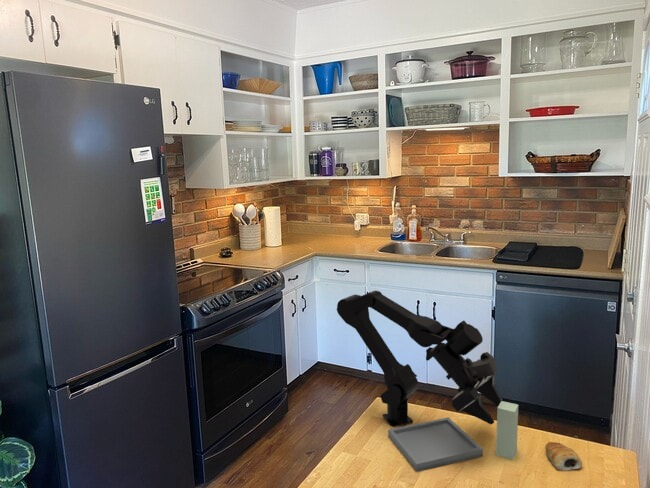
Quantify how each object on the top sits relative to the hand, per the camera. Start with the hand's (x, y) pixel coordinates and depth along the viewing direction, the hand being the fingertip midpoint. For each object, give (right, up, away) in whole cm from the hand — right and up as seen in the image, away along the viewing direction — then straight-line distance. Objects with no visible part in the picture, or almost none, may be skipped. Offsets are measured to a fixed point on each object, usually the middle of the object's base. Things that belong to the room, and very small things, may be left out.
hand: (497, 414), depth 123 cm
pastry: (+14, -10, -3) cm, 18 cm away
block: (+2, -10, 0) cm, 10 cm away
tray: (-15, -10, +5) cm, 18 cm away
